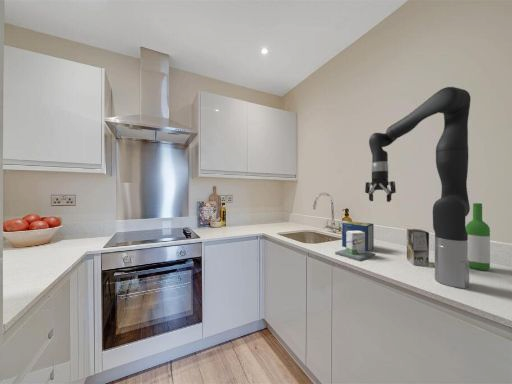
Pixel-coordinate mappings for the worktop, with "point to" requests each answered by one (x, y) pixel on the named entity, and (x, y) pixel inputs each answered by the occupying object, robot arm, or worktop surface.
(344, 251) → the plate
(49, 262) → the worktop surface
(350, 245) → the ink box
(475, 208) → the wine bottle
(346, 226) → the protein box
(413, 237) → the coffee box
